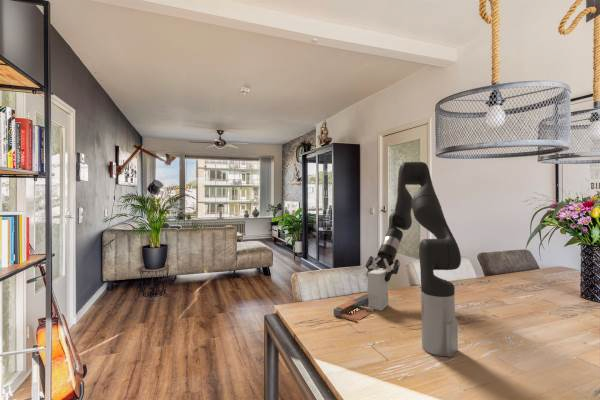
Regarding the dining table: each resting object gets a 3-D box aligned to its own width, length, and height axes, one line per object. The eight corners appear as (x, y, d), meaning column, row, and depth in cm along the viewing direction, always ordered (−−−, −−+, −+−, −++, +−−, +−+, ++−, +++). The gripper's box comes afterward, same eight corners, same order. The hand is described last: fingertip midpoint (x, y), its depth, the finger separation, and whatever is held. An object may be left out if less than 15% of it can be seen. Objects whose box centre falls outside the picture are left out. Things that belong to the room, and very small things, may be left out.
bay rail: (367, 299, 141) (366, 292, 141) (387, 304, 134) (387, 297, 134) (333, 315, 122) (333, 308, 122) (355, 322, 115) (355, 314, 115)
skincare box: (381, 311, 125) (380, 274, 125) (367, 308, 129) (366, 272, 129) (389, 305, 132) (387, 269, 132) (375, 302, 136) (374, 268, 136)
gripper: (371, 242, 144) (358, 271, 135) (401, 244, 134) (389, 276, 126) (377, 252, 148) (365, 281, 139) (406, 255, 138) (395, 287, 130)
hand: (376, 279), depth 133 cm, fingers open, 8 cm apart
